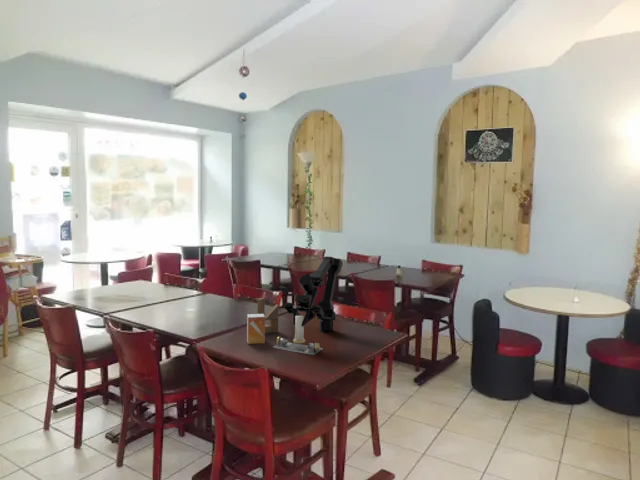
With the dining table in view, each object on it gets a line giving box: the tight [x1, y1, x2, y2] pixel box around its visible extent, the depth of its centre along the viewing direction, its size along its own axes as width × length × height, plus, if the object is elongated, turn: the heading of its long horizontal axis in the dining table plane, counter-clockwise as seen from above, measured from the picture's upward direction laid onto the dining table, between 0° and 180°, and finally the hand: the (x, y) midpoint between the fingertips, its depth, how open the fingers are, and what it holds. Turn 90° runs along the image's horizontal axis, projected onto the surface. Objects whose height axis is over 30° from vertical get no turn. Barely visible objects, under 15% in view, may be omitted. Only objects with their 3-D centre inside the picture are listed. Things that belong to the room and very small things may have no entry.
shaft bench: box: [272, 336, 323, 356], centre depth 217 cm, size 21×9×4 cm, turn 64°
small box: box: [246, 313, 266, 345], centre depth 226 cm, size 8×6×13 cm
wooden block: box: [256, 297, 279, 334], centre depth 241 cm, size 4×11×18 cm, turn 113°
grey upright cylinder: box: [292, 314, 306, 344], centre depth 218 cm, size 6×6×12 cm
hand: (298, 325), depth 216 cm, fingers closed on grey upright cylinder, 4 cm apart
